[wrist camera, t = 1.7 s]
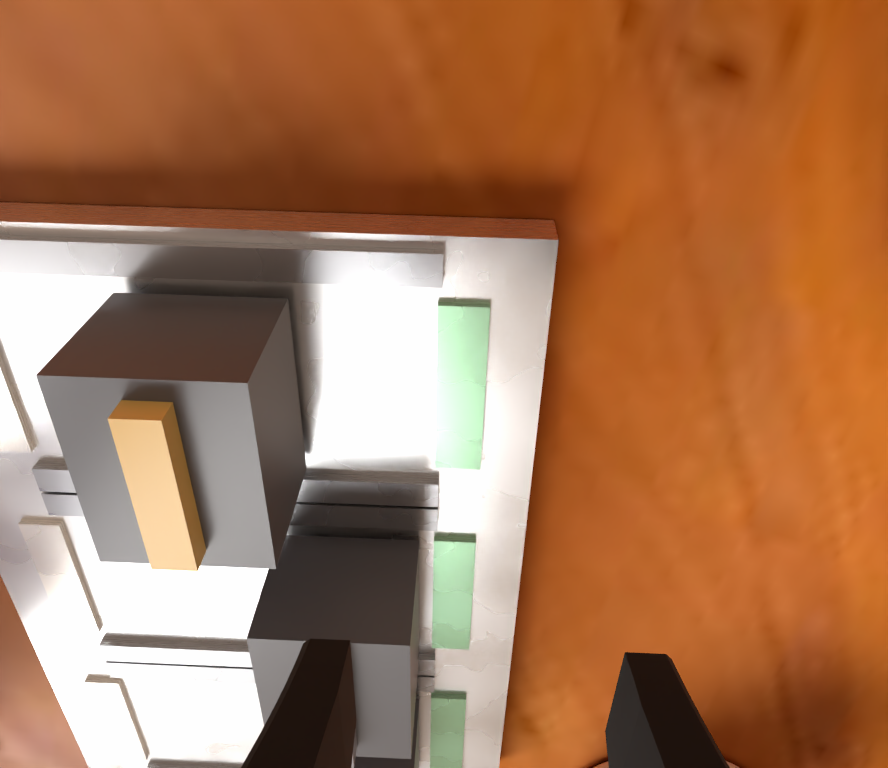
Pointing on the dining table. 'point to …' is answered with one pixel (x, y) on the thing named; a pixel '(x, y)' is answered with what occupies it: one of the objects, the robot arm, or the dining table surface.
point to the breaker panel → (326, 451)
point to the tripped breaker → (181, 428)
